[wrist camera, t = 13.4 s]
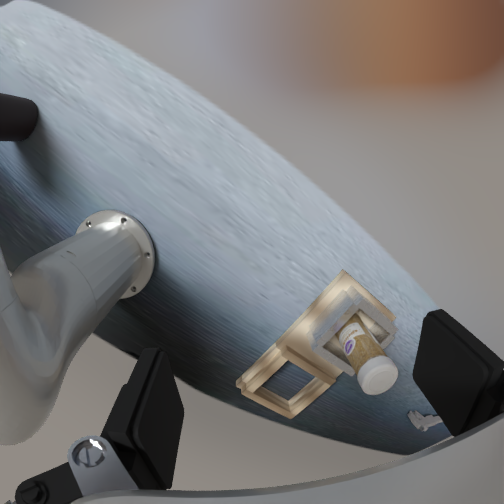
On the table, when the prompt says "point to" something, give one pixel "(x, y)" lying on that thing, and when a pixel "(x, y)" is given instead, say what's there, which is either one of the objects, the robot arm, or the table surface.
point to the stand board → (302, 354)
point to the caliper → (423, 420)
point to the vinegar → (16, 117)
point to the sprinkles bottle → (366, 357)
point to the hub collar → (337, 317)
